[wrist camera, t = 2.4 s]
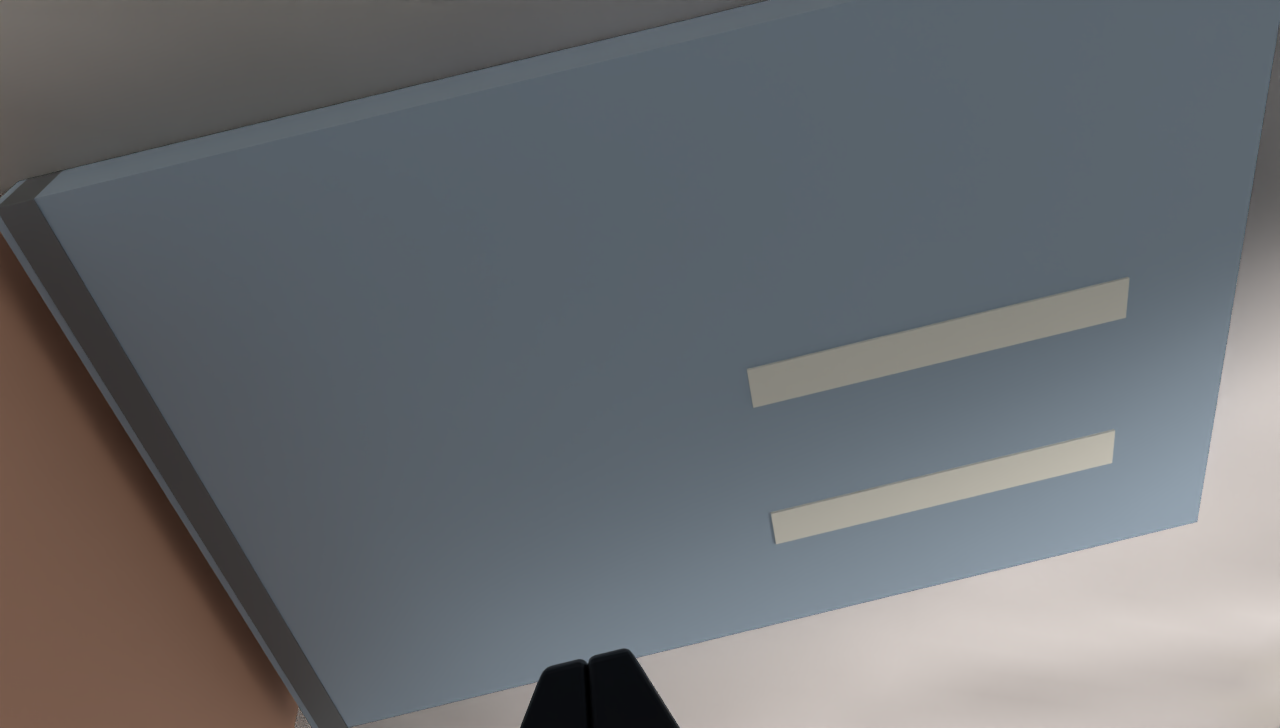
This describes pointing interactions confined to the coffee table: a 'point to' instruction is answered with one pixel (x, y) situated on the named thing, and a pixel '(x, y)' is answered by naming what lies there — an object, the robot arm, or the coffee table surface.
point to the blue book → (673, 327)
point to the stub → (103, 561)
